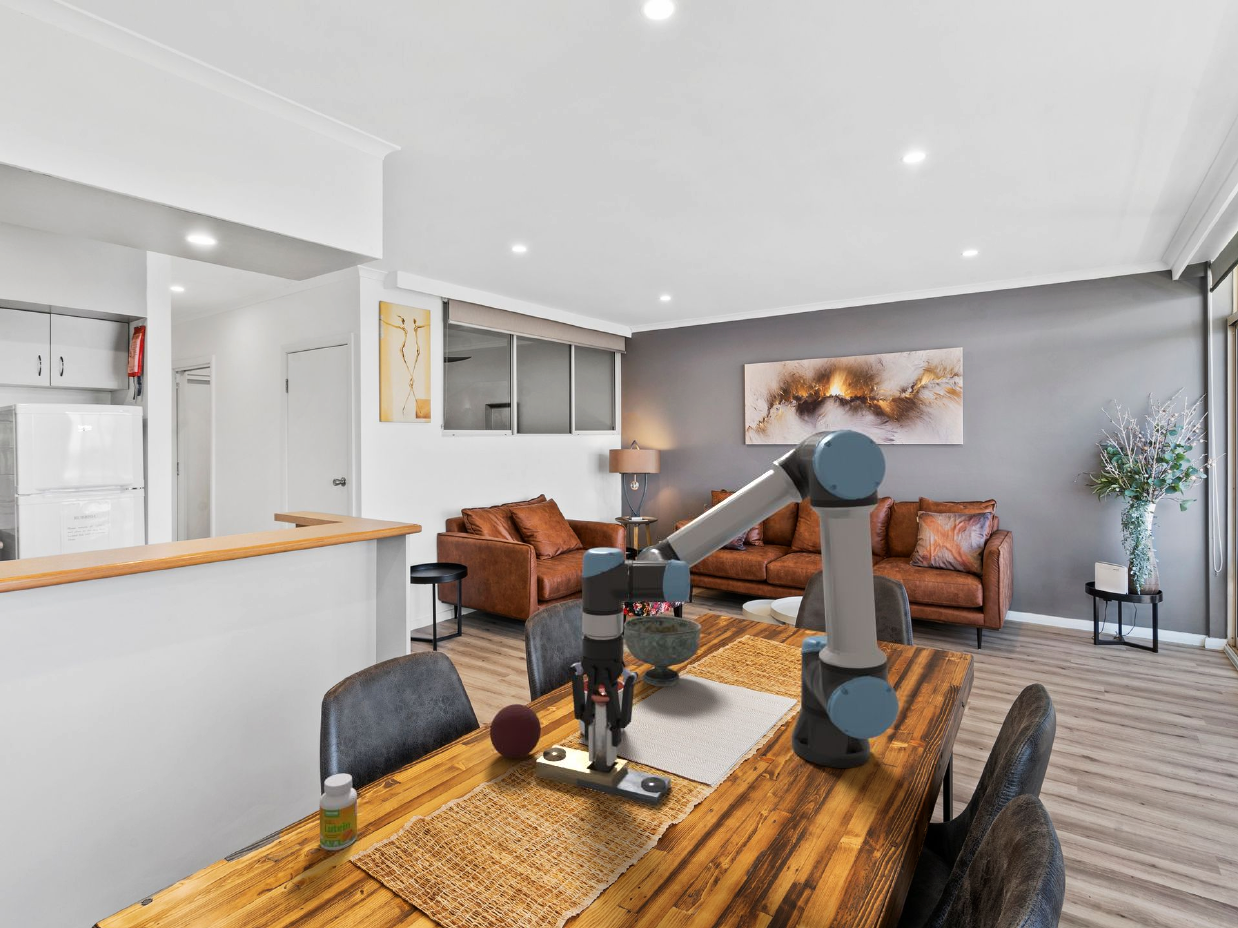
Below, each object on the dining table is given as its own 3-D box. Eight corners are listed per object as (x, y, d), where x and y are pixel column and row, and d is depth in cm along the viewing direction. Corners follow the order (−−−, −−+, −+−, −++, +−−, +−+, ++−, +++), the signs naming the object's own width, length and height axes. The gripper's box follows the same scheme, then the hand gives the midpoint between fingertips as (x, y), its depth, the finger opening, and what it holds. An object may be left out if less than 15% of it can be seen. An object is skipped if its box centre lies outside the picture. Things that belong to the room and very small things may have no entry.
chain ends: (671, 786, 119) (671, 768, 119) (658, 805, 113) (658, 786, 113) (553, 759, 129) (553, 742, 129) (535, 776, 123) (535, 758, 122)
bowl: (711, 674, 176) (711, 619, 176) (678, 698, 160) (678, 637, 160) (647, 661, 187) (648, 609, 186) (610, 682, 171) (610, 625, 170)
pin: (618, 770, 122) (618, 690, 121) (608, 781, 118) (608, 699, 117) (596, 765, 124) (597, 687, 123) (586, 776, 120) (586, 695, 119)
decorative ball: (521, 739, 138) (521, 692, 137) (551, 755, 131) (551, 706, 130) (480, 755, 131) (479, 705, 130) (509, 773, 124) (509, 721, 123)
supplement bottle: (319, 854, 99) (318, 791, 99) (320, 835, 104) (319, 774, 104) (357, 846, 101) (357, 784, 101) (356, 827, 106) (356, 768, 106)
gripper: (651, 633, 120) (650, 759, 121) (573, 623, 127) (573, 743, 127) (635, 644, 113) (635, 778, 114) (554, 633, 120) (554, 760, 120)
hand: (602, 759), depth 121 cm, fingers closed on pin, 3 cm apart
